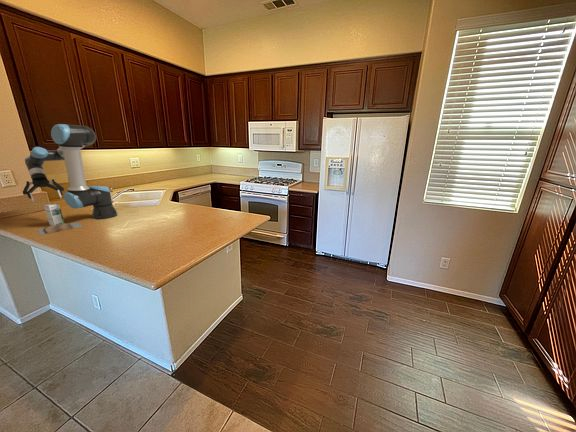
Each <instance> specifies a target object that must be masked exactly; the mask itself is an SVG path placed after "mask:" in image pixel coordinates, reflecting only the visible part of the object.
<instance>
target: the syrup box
mask: <svg viewBox="0 0 576 432" xmlns="http://www.w3.org/2000/svg"><path fill="white" fill-rule="evenodd" d="M43 207H44V208H43V209H44V211H45V215H46V217H47V221H48V224H49V226H55V225H60V224H65V220H64V216H63V212H62V208H61V205H60V204H59V203H57V202H56V203H49V204H43Z"/></svg>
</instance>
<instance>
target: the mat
mask: <svg viewBox="0 0 576 432" xmlns="http://www.w3.org/2000/svg"><path fill="white" fill-rule="evenodd" d="M69 224H70V225H71V226H72V227H73V229H76V228H82V227H84V226H83V225H82V224H81V223H79V222H78V221H76V222H71V223H69ZM37 232H38V233H39V235H41V236H42V235H46V234H47V232H46V231H45V229H44V227H43V228H38V229H37Z"/></svg>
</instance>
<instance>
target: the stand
mask: <svg viewBox="0 0 576 432" xmlns="http://www.w3.org/2000/svg"><path fill="white" fill-rule="evenodd" d="M43 228H44V229H45V231H46V232H47V234H52V233H59V232H63V231H68V230H73V229H74V228H73V227H72V226H71V225H70V223H69V222H66V223H65V224H60V225H55V226H51V225H49V226H45V227H43Z"/></svg>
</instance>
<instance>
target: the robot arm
mask: <svg viewBox="0 0 576 432" xmlns="http://www.w3.org/2000/svg"><path fill="white" fill-rule="evenodd" d="M94 131H95V130H93V129H92V128H91V127H89V126H86V125H81V124H80V125H77V124H64V123H58V124H55V125H53V127H52V128H51V131H50V136H51V139H52V141H53V142H54V143H55V144H57V145H58V148H57V149H46V148H43V147H40V146H34V147H33V148H32V150H31V151H30V153H29V156H27V157H25V158H24V164H25V166H26V168H27V172H28V174H29V175H30V179H31V181H30V180H29V181H26V184H25V186H24V187H23V190H22V195H24V196H25V195H27V197H28V199H31V202H32V203H33V204H35V203H36V202H35V199H34V196H33V192H34V191H36V189H38V188H46V187H47V188H50V189H53V190H54V191H57V194H58V197H59V199H60V200H64V202H65V203H66V205H68V207H70V208H72V209H76V210H77V209H83V208H87V207H93V208H92V214H91V216H92V219H95V220H105V219H111V218H114V217H117V216H118V211H117V210H116V208H115V207H114V204H113V201H112V197H111V196H112V195H111V191H110V188H109V187H108V186H106V185H105V186H104V185H90V186H88V185H87V182H86V176H85V170H84V164H83V163H84V162H83V157H82V152H81V151H82V150H83V148H85V147H90V146H92V145H93V144H94V143H96V140H97V134H96V132H94ZM51 161H52V162H53V161H64V163H65V164H64V165H65V169H66V176H67V181H68V185H69V186H68V187H67V188H66V191H67V192H65V193H64V194H63V192H64V191H65V188H64V187H63V185H61V184H59V183H57V181H55V179H51V180H50V179H48V178H47V175H46V173H45V171H44V168H43V165H44V163H45V162H51ZM31 185H33V186H31ZM30 186H31V187H30Z"/></svg>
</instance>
